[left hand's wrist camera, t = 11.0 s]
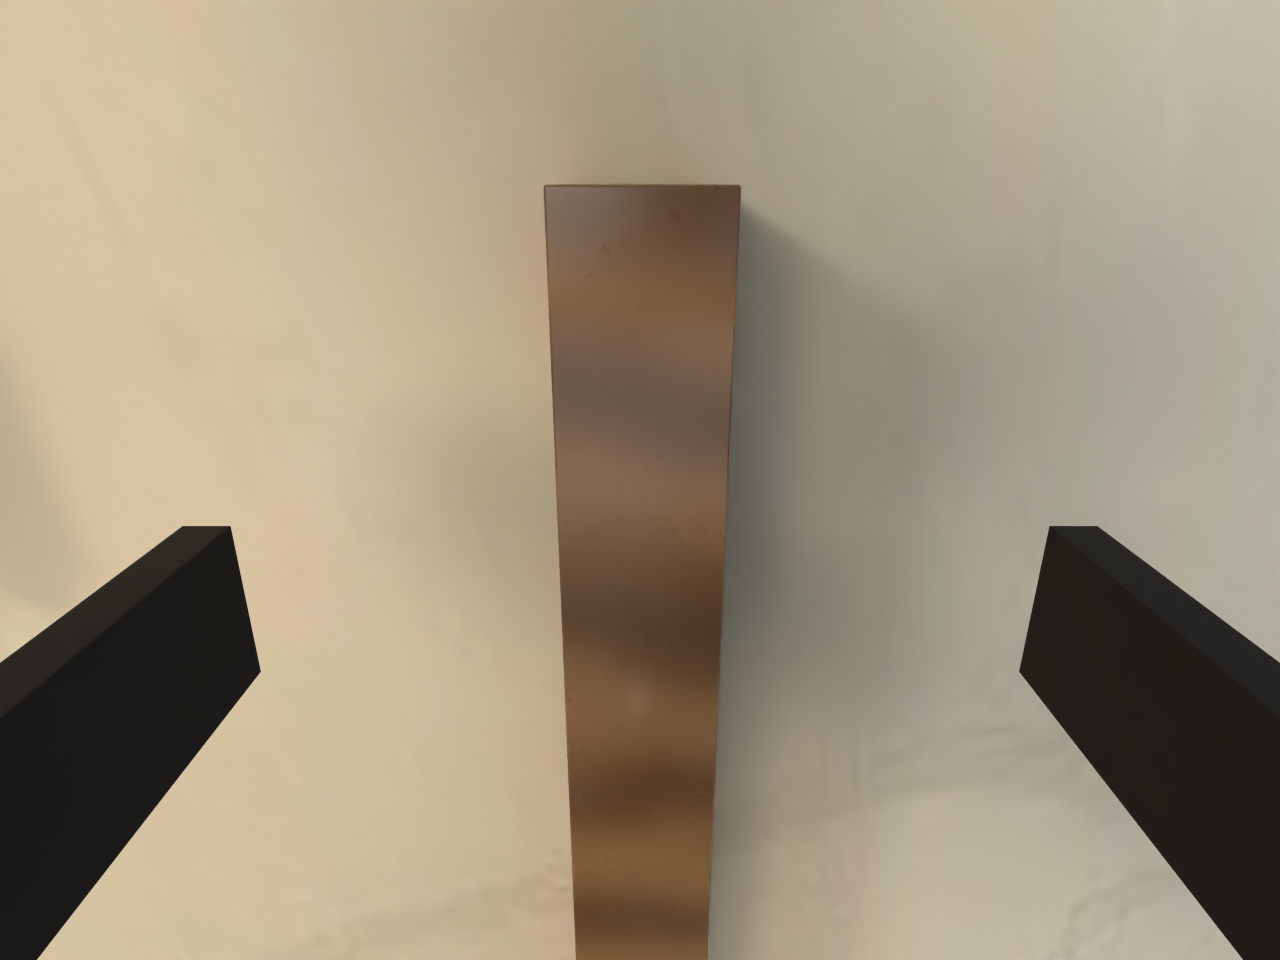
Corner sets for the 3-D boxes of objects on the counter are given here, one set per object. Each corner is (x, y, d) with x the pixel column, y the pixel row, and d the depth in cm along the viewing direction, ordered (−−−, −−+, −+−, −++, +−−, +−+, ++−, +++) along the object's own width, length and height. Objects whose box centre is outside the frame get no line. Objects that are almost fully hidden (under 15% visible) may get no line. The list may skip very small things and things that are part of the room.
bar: (569, 184, 30) (543, 184, 21) (713, 184, 30) (741, 184, 21) (597, 1095, 49) (589, 1277, 41) (684, 1095, 49) (693, 1277, 41)
